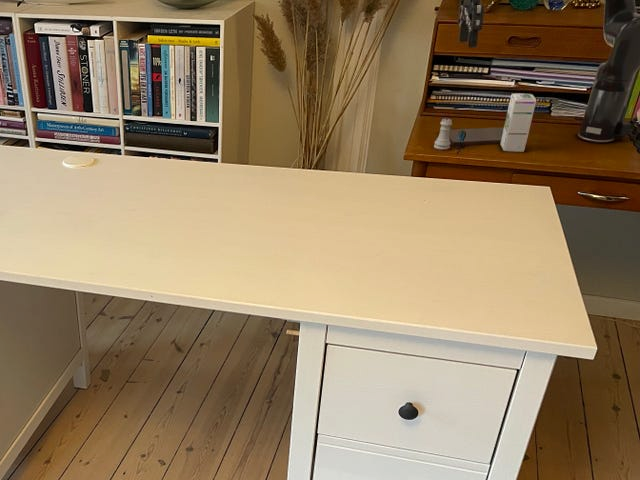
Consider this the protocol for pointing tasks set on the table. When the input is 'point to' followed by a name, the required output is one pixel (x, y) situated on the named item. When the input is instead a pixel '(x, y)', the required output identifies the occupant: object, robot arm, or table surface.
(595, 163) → the table surface
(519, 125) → the syrup box
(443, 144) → the rook chess piece
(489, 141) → the grey rectangular panel
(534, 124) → the table surface
